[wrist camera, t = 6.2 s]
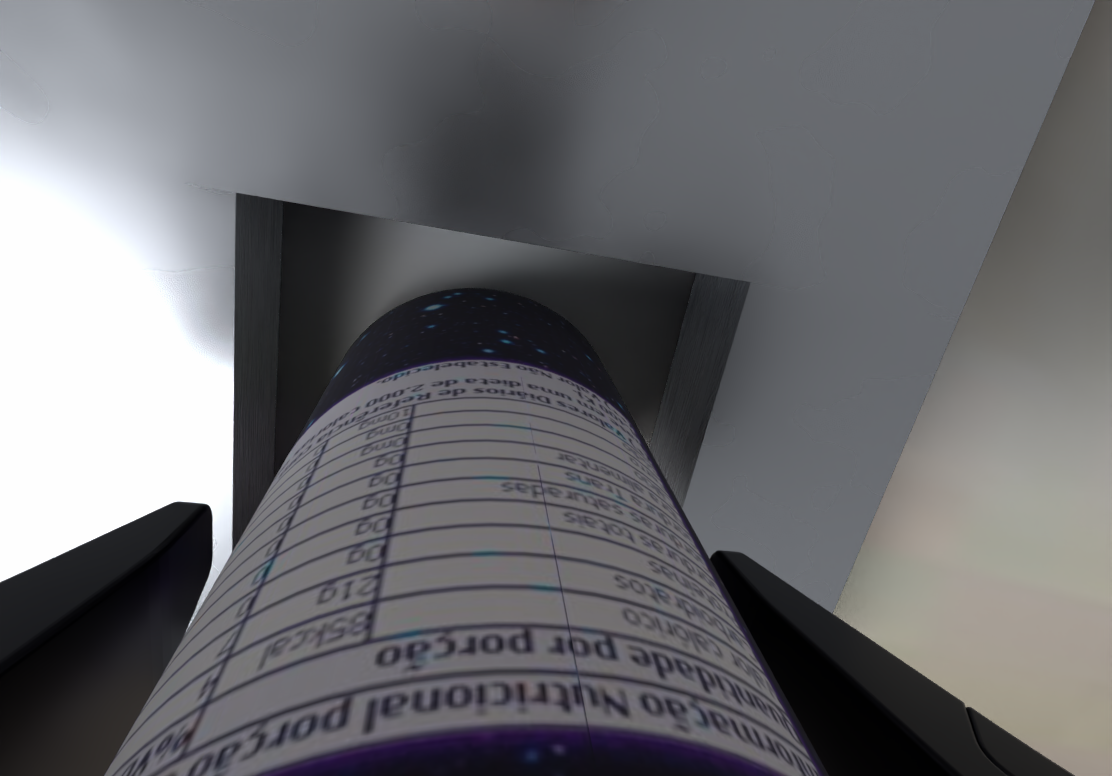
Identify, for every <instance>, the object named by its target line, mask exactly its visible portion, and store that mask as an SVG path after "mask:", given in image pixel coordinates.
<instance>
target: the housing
mask: <svg viewBox="0 0 1112 776" xmlns="http://www.w3.org/2000/svg"><path fill="white" fill-rule="evenodd" d="M1094 2H1095V0H0V582H1V581H3V580H6V579H8V578H10V577H12V576H14V575H16V574H19V573H21V572H23V571H25V570H27V569H29V568H32V567H34V566H36V565H38V564H40V563H42V562H45V561H47V560H49V559H51V558H53V557H55V556H58V555H60V554H62V553H64V552H66V551H68V550H71V549H73V548H75V547H77V546H79V545H81V544H84V543H86V542H88V541H90V540H92V539H94V538H96V537H99V536H101V535H103V534H105V533H107V532H109V531H112V530H114V529H116V528H118V527H120V526H122V525H125V524H127V523H129V522H131V521H133V520H135V519H138V518H140V517H142V516H144V515H146V514H148V513H151V512H153V511H155V510H157V509H159V508H161V507H164V506H166V505H168V504H170V503H173V502H176V501H182V502H193V503H204V504H207V505H209V506H210V508H211V510H212V515H213V560H212V566H211V570H210V574H209V577H208V579H207V582H206V584H205V587H204V589H203V591H202V594H201V596H200V599H199V601H198V604H197V606H196V609H195V611H194V613H193V616H192V618H191V621H190V623H189V626H188V628H189V627H190V625H191V623H192V621H193V620H194V618H195V616H196V614H197V613H198V611H199V609H200V607H201V606H202V604H203V602H204V601H205V599H206V597H207V595H208V594H209V592H210V590H211V588H212V587H213V585H214V583H215V581H216V580H217V578H218V576H219V574H220V573H221V571H222V569H223V567H224V566H225V564H226V562H227V560H228V559H229V557H230V555H231V553H232V552H233V550H234V548H235V546H236V545H237V543H238V541H239V540H240V538H241V536H242V534H243V533H244V531H245V529H246V527H247V526H248V524H249V522H250V520H251V519H252V517H253V515H254V513H255V512H256V510H257V508H258V506H259V505H260V503H261V501H262V499H263V498H264V496H265V494H266V492H267V491H268V489H269V487H270V486H271V484H272V482H273V478H274V450H275V421H276V393H277V365H278V337H279V309H280V281H281V253H282V225H283V201H288V202H293V203H299V204H305V205H310V206H316V207H322V208H328V209H333V210H339V211H345V212H351V213H356V214H362V215H368V216H374V217H379V218H385V219H391V220H396V221H402V222H408V223H414V224H419V225H425V226H431V227H437V228H442V229H448V230H454V231H459V232H465V233H471V234H477V235H482V236H488V237H494V238H500V239H505V240H511V241H517V242H523V243H528V244H534V245H540V246H545V247H551V248H557V249H563V250H568V251H574V252H580V253H586V254H591V255H597V256H603V257H608V258H614V259H620V260H626V261H631V262H637V263H643V264H649V265H654V266H660V267H666V268H672V269H677V270H683V271H689V272H694V273H696V275H695V279H694V283H693V287H692V290H691V294H690V298H689V301H688V305H687V309H686V312H685V316H684V320H683V324H682V327H681V331H680V335H679V338H678V342H677V346H676V350H675V353H674V357H673V361H672V364H671V368H670V372H669V376H668V379H667V383H666V387H665V390H664V394H663V398H662V402H661V405H660V409H659V413H658V416H657V420H656V424H655V427H654V431H653V435H652V439H651V442H650V446H649V449H650V451H651V453H652V455H653V457H654V459H655V460H656V462H657V464H658V466H659V468H660V469H661V471H662V473H663V475H664V477H665V479H666V480H667V482H668V484H669V486H670V488H671V489H672V491H673V493H674V495H675V497H676V499H677V500H678V502H679V504H680V506H681V508H682V509H683V511H684V513H685V515H686V517H687V519H688V520H689V522H690V524H691V526H692V528H693V529H694V531H695V533H696V535H697V537H698V539H699V540H700V542H701V544H702V546H703V548H704V549H705V551H706V553H707V555H708V557H709V559H710V557H711V555H712V554H713V553H714V552H716V551H717V550H723V551H735V552H741V553H743V554H745V555H747V556H748V557H750V558H751V559H753V560H754V561H755V562H757V563H758V564H760V565H761V566H763V567H764V568H766V569H767V570H769V571H770V572H772V573H773V574H775V575H776V576H778V577H779V578H781V579H782V580H783V581H785V582H786V583H788V584H789V585H791V586H792V587H794V588H795V589H797V590H798V591H800V592H801V593H803V594H804V595H806V596H807V597H809V598H810V599H812V600H813V601H814V602H816V603H817V604H819V605H820V606H822V607H823V608H825V609H826V610H828V611H829V612H831V613H832V614H833V611H834V609H835V607H836V604H837V602H838V600H839V597H840V595H841V593H842V590H843V588H844V586H845V583H846V581H847V579H848V576H849V574H850V572H851V569H852V567H853V565H854V562H855V560H856V558H857V555H858V553H859V551H860V548H861V546H862V544H863V541H864V539H865V537H866V534H867V532H868V530H869V527H870V525H871V523H872V520H873V518H874V516H875V513H876V511H877V509H878V506H879V504H880V502H881V499H882V497H883V495H884V492H885V490H886V488H887V485H888V483H889V481H890V478H891V476H892V474H893V471H894V469H895V467H896V464H897V462H898V460H899V457H900V455H901V453H902V450H903V448H904V445H905V443H906V441H907V439H908V436H909V434H910V431H911V429H912V427H913V424H914V422H915V420H916V417H917V415H918V413H919V410H920V408H921V406H922V403H923V401H924V399H925V396H926V394H927V392H928V389H929V387H930V385H931V382H932V380H933V378H934V375H935V373H936V371H937V368H938V366H939V364H940V361H941V359H942V357H943V354H944V352H945V350H946V347H947V345H948V343H949V340H950V338H951V336H952V333H953V331H954V329H955V326H956V324H957V322H958V319H959V317H960V315H961V312H962V310H963V308H964V305H965V303H966V301H967V298H968V296H969V294H970V291H971V289H972V287H973V284H974V282H975V280H976V277H977V275H978V273H979V270H980V268H981V266H982V263H983V261H984V259H985V256H986V254H987V252H988V249H989V247H990V245H991V242H992V240H993V238H994V235H995V233H996V231H997V228H998V226H999V224H1000V221H1001V219H1002V217H1003V214H1004V212H1005V210H1006V207H1007V205H1008V203H1009V200H1010V198H1011V196H1012V193H1013V191H1014V189H1015V186H1016V184H1017V182H1018V179H1019V177H1020V175H1021V172H1022V170H1023V168H1024V165H1025V163H1026V161H1027V158H1028V156H1029V154H1030V151H1031V149H1032V147H1033V144H1034V142H1035V140H1036V137H1037V135H1038V133H1039V130H1040V128H1041V126H1042V123H1043V121H1044V119H1045V116H1046V114H1047V112H1048V109H1049V107H1050V105H1051V102H1052V100H1053V98H1054V95H1055V93H1056V91H1057V88H1058V86H1059V84H1060V81H1061V79H1062V77H1063V74H1064V72H1065V70H1066V67H1067V65H1068V63H1069V60H1070V58H1071V56H1072V53H1073V51H1074V49H1075V46H1076V44H1077V42H1078V39H1079V37H1080V35H1081V32H1082V30H1083V28H1084V25H1085V23H1086V21H1087V18H1088V16H1089V14H1090V11H1091V9H1092V7H1093V4H1094ZM188 628H187V630H188ZM186 632H187V631H186ZM185 634H186V633H185Z"/></svg>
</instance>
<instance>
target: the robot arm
mask: <svg viewBox="0 0 1112 776" xmlns="http://www.w3.org/2000/svg"><path fill="white" fill-rule="evenodd" d="M212 560H213V515H212V510H211V508H210V506H209V505H207V504H204V503H193V502H182V501H176V502H173V503H170V504H168V505H166V506H164V507H161V508H159V509H157V510H155V511H153V512H151V513H148V514H146V515H144V516H142V517H140V518H138V519H135V520H133V521H131V522H129V523H127V524H125V525H122V526H120V527H118V528H116V529H114V530H112V531H109V532H107V533H105V534H103V535H101V536H99V537H96V538H94V539H92V540H90V541H88V542H86V543H84V544H81V545H79V546H77V547H75V548H73V549H71V550H68V551H66V552H64V553H62V554H60V555H58V556H55V557H53V558H51V559H49V560H47V561H45V562H42V563H40V564H38V565H36V566H34V567H32V568H29V569H27V570H25V571H23V572H21V573H19V574H16V575H14V576H12V577H10V578H8V579H6V580H3V581H1V582H0V776H104V775H105V773H106V771H107V770H108V768H109V766H110V764H111V763H112V761H113V759H114V757H115V756H116V754H117V752H118V750H119V749H120V747H121V745H122V743H123V742H124V740H125V738H126V736H127V735H128V733H129V731H130V729H131V728H132V726H133V724H134V722H135V721H136V719H137V717H138V716H139V714H140V712H141V710H142V709H143V707H144V705H145V703H146V702H147V700H148V698H149V696H150V695H151V693H152V691H153V689H154V688H155V686H156V684H157V682H158V681H159V679H160V677H161V675H162V674H163V672H164V670H165V668H166V667H167V665H168V663H169V662H170V660H171V658H172V656H173V655H174V653H175V651H176V649H177V648H178V646H179V644H180V642H181V641H182V639H183V637H184V635H185V633H186V631H187V628H188V626H189V623H190V621H191V618H192V616H193V613H194V611H195V609H196V606H197V604H198V601H199V599H200V596H201V594H202V591H203V589H204V587H205V584H206V582H207V579H208V577H209V574H210V570H211V566H212ZM710 560H711V562H712V564H713V566H714V568H715V569H716V571H717V573H718V575H719V577H720V579H721V580H722V582H723V584H724V586H725V588H726V589H727V591H728V593H729V595H730V597H731V599H732V600H733V602H734V604H735V606H736V608H737V609H738V611H739V613H740V615H741V617H742V619H743V620H744V622H745V624H746V626H747V628H748V629H749V631H750V633H751V635H752V637H753V639H754V640H755V642H756V644H757V646H758V648H759V649H760V651H761V653H762V655H763V657H764V659H765V660H766V662H767V664H768V666H769V668H770V669H771V671H772V673H773V675H774V677H775V679H776V680H777V682H778V684H779V686H780V688H781V689H782V691H783V693H784V695H785V697H786V699H787V700H788V702H789V704H790V706H791V708H792V709H793V711H794V713H795V715H796V717H797V719H798V720H799V722H800V724H801V726H802V728H803V729H804V731H805V733H806V735H807V737H808V739H809V740H810V742H811V744H812V746H813V748H814V749H815V751H816V753H817V755H818V757H819V759H820V760H821V762H822V764H823V766H824V768H825V769H826V771H827V773H828V775H829V776H1075V775H1073V774H1072V773H1070V772H1068V771H1067V770H1065V769H1064V768H1062V767H1060V766H1059V765H1057V764H1056V763H1054V762H1052V761H1051V760H1049V759H1048V758H1046V757H1045V756H1043V755H1042V754H1040V753H1039V752H1037V751H1035V750H1034V749H1032V748H1031V747H1029V746H1028V745H1026V744H1025V743H1023V742H1022V741H1020V740H1019V739H1017V738H1016V737H1014V736H1013V735H1011V734H1010V733H1008V732H1007V731H1005V730H1004V729H1002V728H1001V727H999V726H998V725H996V724H995V723H993V722H992V721H990V720H989V719H987V718H986V717H984V716H983V715H981V714H980V713H979V712H977V711H976V710H974V709H973V708H971V707H965V704H964V703H963V702H962V701H961V700H959V699H958V698H956V697H955V696H953V695H952V694H950V693H949V692H947V691H946V690H944V689H943V688H941V687H940V686H938V685H937V684H936V683H934V682H933V681H931V680H930V679H928V678H927V677H925V676H924V675H922V674H921V673H919V672H918V671H916V670H915V669H913V668H912V667H910V666H909V665H907V664H906V663H904V662H903V661H902V660H900V659H899V658H897V657H896V656H894V655H893V654H891V653H890V652H888V651H887V650H885V649H884V648H882V647H881V646H879V645H878V644H876V643H875V642H874V641H872V640H871V639H869V638H868V637H866V636H865V635H863V634H862V633H860V632H859V631H857V630H856V629H854V628H853V627H851V626H850V625H848V624H847V623H845V622H844V621H843V620H841V619H840V618H838V617H837V616H835V615H834V614H832V613H831V612H829V611H828V610H826V609H825V608H823V607H822V606H820V605H819V604H817V603H816V602H814V601H813V600H812V599H810V598H809V597H807V596H806V595H804V594H803V593H801V592H800V591H798V590H797V589H795V588H794V587H792V586H791V585H789V584H788V583H786V582H785V581H783V580H782V579H781V578H779V577H778V576H776V575H775V574H773V573H772V572H770V571H769V570H767V569H766V568H764V567H763V566H761V565H760V564H758V563H757V562H755V561H754V560H753V559H751V558H750V557H748V556H747V555H745V554H743V553H741V552H735V551H723V550H717V551H716V552H714V553H713V554H712V555H711V557H710Z"/></svg>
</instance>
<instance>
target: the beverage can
mask: <svg viewBox="0 0 1112 776" xmlns="http://www.w3.org/2000/svg"><path fill="white" fill-rule="evenodd" d="M104 776H829V775H828V773H827V771H826V769H825V768H824V766H823V764H822V762H821V760H820V759H819V757H818V755H817V753H816V751H815V749H814V748H813V746H812V744H811V742H810V740H809V739H808V737H807V735H806V733H805V731H804V729H803V728H802V726H801V724H800V722H799V720H798V719H797V717H796V715H795V713H794V711H793V709H792V708H791V706H790V704H789V702H788V700H787V699H786V697H785V695H784V693H783V691H782V689H781V688H780V686H779V684H778V682H777V680H776V679H775V677H774V675H773V673H772V671H771V669H770V668H769V666H768V664H767V662H766V660H765V659H764V657H763V655H762V653H761V651H760V649H759V648H758V646H757V644H756V642H755V640H754V639H753V637H752V635H751V633H750V631H749V629H748V628H747V626H746V624H745V622H744V620H743V619H742V617H741V615H740V613H739V611H738V609H737V608H736V606H735V604H734V602H733V600H732V599H731V597H730V595H729V593H728V591H727V589H726V588H725V586H724V584H723V582H722V580H721V579H720V577H719V575H718V573H717V571H716V569H715V568H714V566H713V564H712V562H711V560H710V559H709V557H708V555H707V553H706V551H705V549H704V548H703V546H702V544H701V542H700V540H699V539H698V537H697V535H696V533H695V531H694V529H693V528H692V526H691V524H690V522H689V520H688V519H687V517H686V515H685V513H684V511H683V509H682V508H681V506H680V504H679V502H678V500H677V499H676V497H675V495H674V493H673V491H672V489H671V488H670V486H669V484H668V482H667V480H666V479H665V477H664V475H663V473H662V471H661V469H660V468H659V466H658V464H657V462H656V460H655V459H654V457H653V455H652V453H651V451H650V449H649V448H648V446H647V444H646V442H645V440H644V439H643V437H642V435H641V433H640V431H639V429H638V428H637V426H636V424H635V422H634V420H633V419H632V417H631V415H630V413H629V411H628V409H627V408H626V406H625V404H624V402H623V400H622V399H621V397H620V395H619V393H618V391H617V389H616V388H615V386H614V384H613V382H612V380H611V379H610V377H609V375H608V373H607V371H606V369H605V368H604V366H603V364H602V362H601V360H600V359H599V357H598V355H597V353H596V352H595V351H594V349H593V348H592V346H591V345H590V344H589V342H588V341H587V340H586V339H585V337H584V336H583V335H582V334H581V333H580V332H579V331H578V330H577V329H576V328H575V327H574V326H573V325H572V324H570V323H569V322H568V321H567V320H565V319H564V318H563V317H561V316H560V315H559V314H557V313H556V312H554V311H552V310H551V309H549V308H547V307H545V306H544V305H542V304H540V303H538V302H535V301H533V300H531V299H528V298H525V297H522V296H519V295H516V294H512V293H508V292H504V291H498V290H492V289H481V288H464V289H452V290H445V291H440V292H436V293H431V294H428V295H425V296H421V297H419V298H416V299H413V300H411V301H408V302H406V303H404V304H402V305H400V306H398V307H396V308H395V309H393V310H391V311H389V312H388V313H386V314H385V315H384V316H382V317H381V318H379V319H378V320H377V321H375V322H374V323H373V324H372V325H371V326H369V327H368V328H367V329H366V330H365V331H364V332H363V333H362V334H361V335H360V336H359V338H358V339H357V340H356V341H355V342H354V343H353V345H352V346H351V348H350V349H349V350H348V352H347V353H346V355H345V357H344V358H343V360H342V362H341V364H340V365H339V367H338V369H337V370H336V372H335V374H334V376H333V377H332V379H331V381H330V383H329V384H328V386H327V388H326V390H325V391H324V393H323V395H322V397H321V398H320V400H319V402H318V404H317V405H316V407H315V409H314V411H313V412H312V414H311V416H310V418H309V419H308V421H307V423H306V425H305V426H304V428H303V430H302V431H301V433H300V435H299V437H298V438H297V440H296V442H295V444H294V445H293V447H292V449H291V451H290V452H289V454H288V456H287V458H286V459H285V461H284V463H283V465H282V466H281V468H280V470H279V472H278V473H277V475H276V477H275V479H274V480H273V482H272V484H271V486H270V487H269V489H268V491H267V492H266V494H265V496H264V498H263V499H262V501H261V503H260V505H259V506H258V508H257V510H256V512H255V513H254V515H253V517H252V519H251V520H250V522H249V524H248V526H247V527H246V529H245V531H244V533H243V534H242V536H241V538H240V540H239V541H238V543H237V545H236V546H235V548H234V550H233V552H232V553H231V555H230V557H229V559H228V560H227V562H226V564H225V566H224V567H223V569H222V571H221V573H220V574H219V576H218V578H217V580H216V581H215V583H214V585H213V587H212V588H211V590H210V592H209V594H208V595H207V597H206V599H205V601H204V602H203V604H202V606H201V607H200V609H199V611H198V613H197V614H196V616H195V618H194V620H193V621H192V623H191V625H190V627H189V628H188V630H187V632H186V634H185V635H184V637H183V639H182V641H181V642H180V644H179V646H178V648H177V649H176V651H175V653H174V655H173V656H172V658H171V660H170V662H169V663H168V665H167V667H166V668H165V670H164V672H163V674H162V675H161V677H160V679H159V681H158V682H157V684H156V686H155V688H154V689H153V691H152V693H151V695H150V696H149V698H148V700H147V702H146V703H145V705H144V707H143V709H142V710H141V712H140V714H139V716H138V717H137V719H136V721H135V722H134V724H133V726H132V728H131V729H130V731H129V733H128V735H127V736H126V738H125V740H124V742H123V743H122V745H121V747H120V749H119V750H118V752H117V754H116V756H115V757H114V759H113V761H112V763H111V764H110V766H109V768H108V770H107V771H106V773H105V775H104Z"/></svg>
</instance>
